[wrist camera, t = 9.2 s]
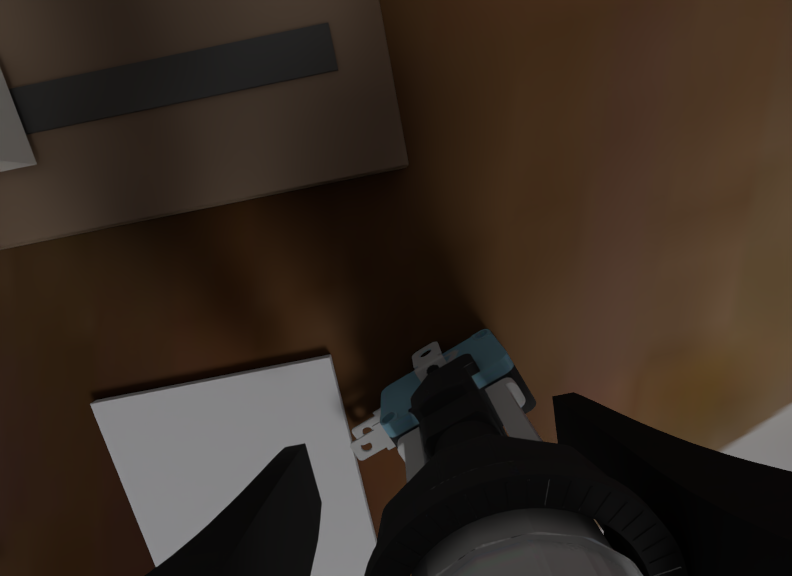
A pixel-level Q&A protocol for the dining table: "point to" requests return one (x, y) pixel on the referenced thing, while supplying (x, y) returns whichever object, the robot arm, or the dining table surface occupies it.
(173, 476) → the parts mat
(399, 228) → the dining table surface
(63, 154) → the switch board
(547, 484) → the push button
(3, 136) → the switch tab
